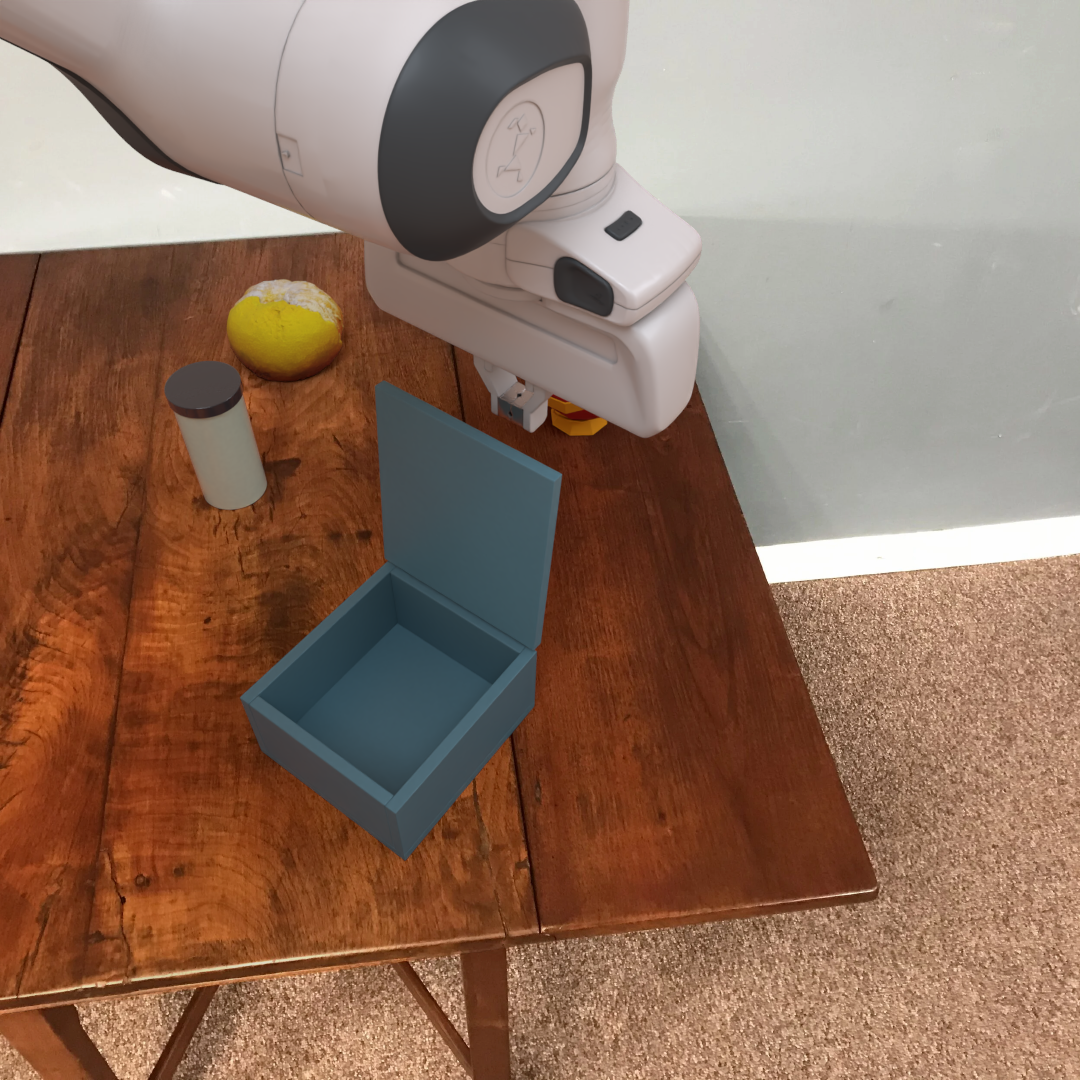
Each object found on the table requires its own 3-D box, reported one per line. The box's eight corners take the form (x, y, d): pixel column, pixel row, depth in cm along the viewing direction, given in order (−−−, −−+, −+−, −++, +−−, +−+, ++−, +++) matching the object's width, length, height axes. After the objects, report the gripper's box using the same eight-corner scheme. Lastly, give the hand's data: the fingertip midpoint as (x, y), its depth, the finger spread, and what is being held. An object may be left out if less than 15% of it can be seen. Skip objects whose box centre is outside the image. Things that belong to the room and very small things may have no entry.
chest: (405, 861, 58) (395, 813, 53) (261, 750, 62) (239, 697, 57) (534, 706, 65) (537, 651, 60) (397, 617, 70) (388, 559, 64)
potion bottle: (619, 468, 80) (637, 324, 69) (505, 439, 82) (505, 294, 71) (649, 393, 87) (671, 250, 76) (544, 367, 89) (549, 224, 78)
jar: (197, 513, 76) (159, 411, 67) (204, 465, 79) (169, 362, 71) (266, 508, 76) (237, 406, 68) (270, 461, 80) (243, 358, 71)
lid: (554, 481, 49) (562, 473, 50) (374, 385, 54) (383, 379, 54) (533, 651, 59) (541, 643, 60) (384, 558, 64) (392, 552, 64)
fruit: (377, 340, 90) (350, 283, 83) (302, 416, 87) (268, 364, 80) (298, 292, 94) (266, 234, 87) (224, 364, 92) (185, 310, 84)
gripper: (321, 165, 48) (355, 376, 58) (665, 313, 41) (633, 524, 51) (402, 120, 51) (420, 327, 62) (734, 249, 44) (690, 459, 54)
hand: (519, 417), depth 56 cm, fingers closed
